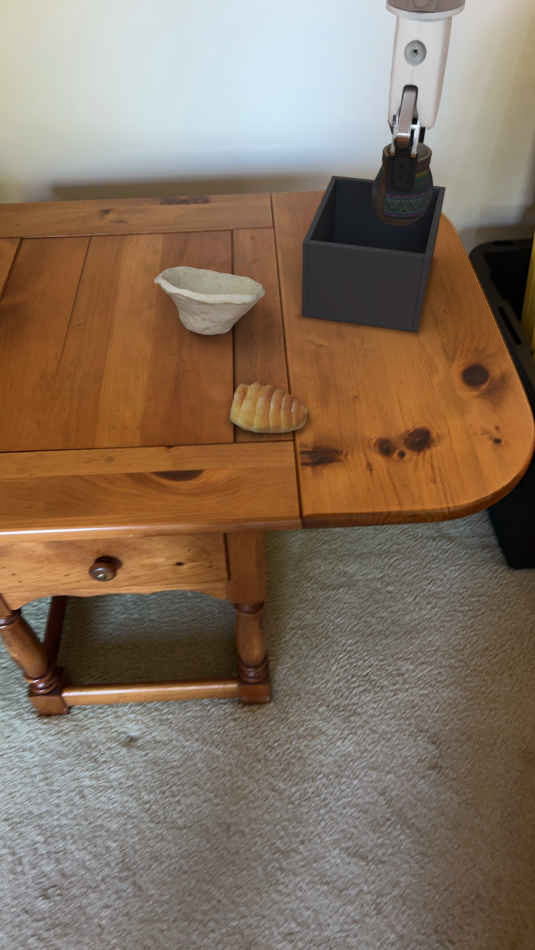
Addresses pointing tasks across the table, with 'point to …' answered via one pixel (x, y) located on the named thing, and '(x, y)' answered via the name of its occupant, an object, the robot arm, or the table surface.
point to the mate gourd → (403, 204)
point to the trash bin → (367, 259)
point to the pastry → (267, 409)
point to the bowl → (209, 297)
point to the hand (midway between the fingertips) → (403, 173)
